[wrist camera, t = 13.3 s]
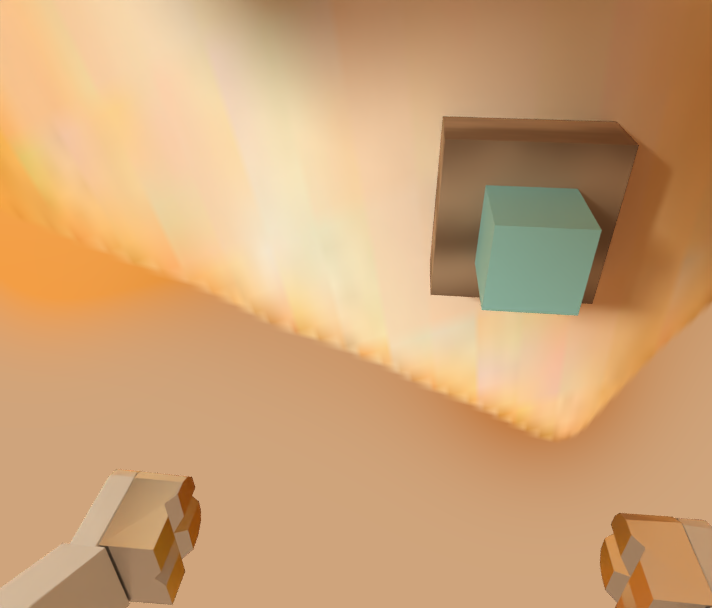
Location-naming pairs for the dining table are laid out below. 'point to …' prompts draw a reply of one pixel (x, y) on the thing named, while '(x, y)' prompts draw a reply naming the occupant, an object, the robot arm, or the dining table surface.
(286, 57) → the dining table surface
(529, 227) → the teal cube
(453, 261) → the walnut base
